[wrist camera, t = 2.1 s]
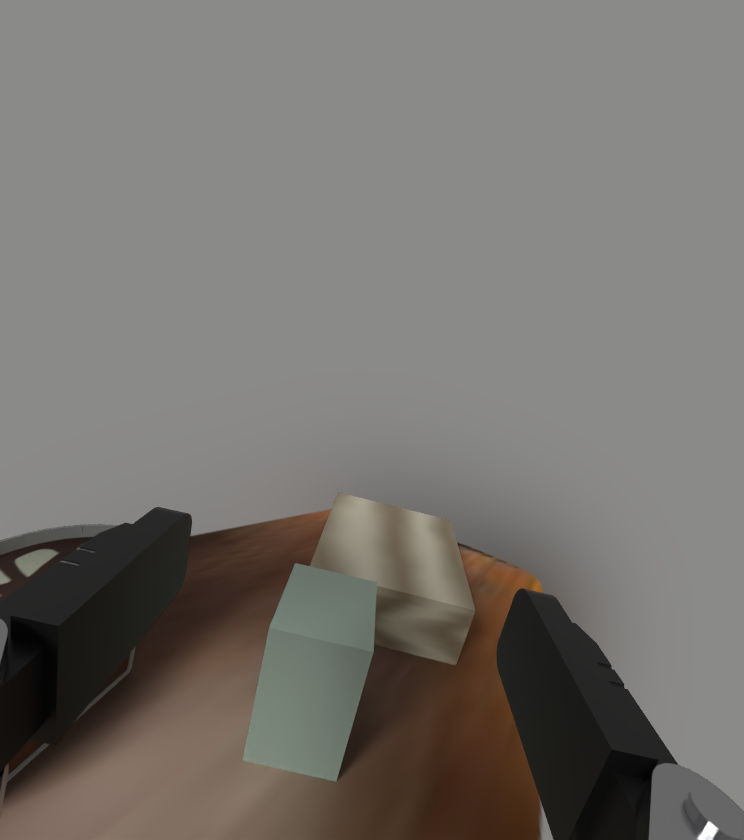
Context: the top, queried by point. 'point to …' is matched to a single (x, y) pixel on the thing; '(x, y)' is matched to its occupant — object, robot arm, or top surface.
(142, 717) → the top surface
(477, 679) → the top surface
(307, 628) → the sage block
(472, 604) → the birch block
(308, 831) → the top surface
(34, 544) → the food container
